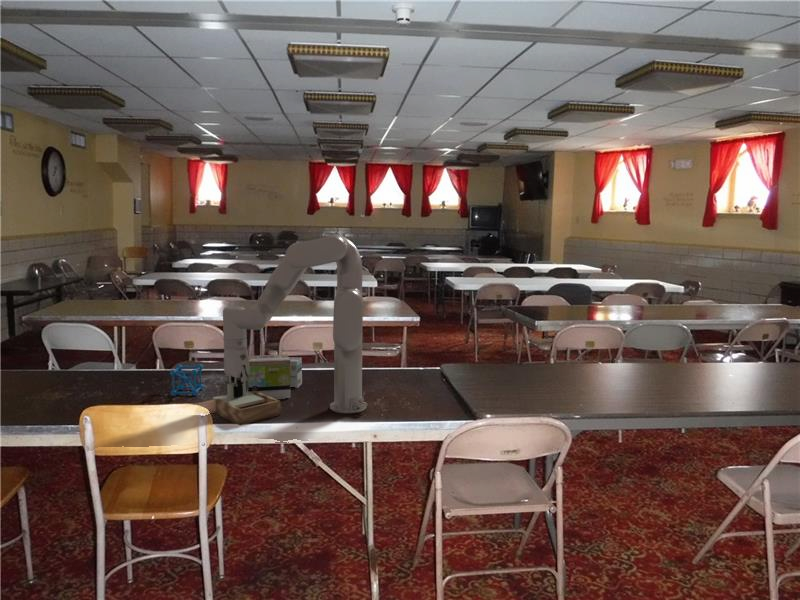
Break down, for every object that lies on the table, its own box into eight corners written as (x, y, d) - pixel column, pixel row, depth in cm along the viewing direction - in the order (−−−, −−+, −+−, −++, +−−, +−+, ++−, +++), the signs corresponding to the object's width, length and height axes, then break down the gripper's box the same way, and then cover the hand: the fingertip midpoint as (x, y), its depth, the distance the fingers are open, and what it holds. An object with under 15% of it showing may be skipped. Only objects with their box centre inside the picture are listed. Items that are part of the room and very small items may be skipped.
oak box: (280, 415, 204) (280, 400, 204) (239, 425, 194) (239, 410, 194) (255, 404, 216) (255, 390, 215) (215, 413, 206) (215, 399, 205)
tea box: (248, 402, 218) (247, 361, 216) (247, 394, 228) (246, 355, 226) (291, 399, 223) (290, 359, 221) (288, 391, 232) (287, 353, 230)
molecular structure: (204, 389, 234) (203, 363, 233) (197, 396, 224) (196, 370, 223) (177, 389, 233) (176, 363, 232) (169, 397, 224) (168, 370, 222)
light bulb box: (302, 383, 243) (302, 357, 241) (298, 388, 236) (297, 361, 235) (276, 382, 244) (275, 356, 242) (270, 387, 237) (270, 360, 236)
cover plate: (265, 401, 208) (264, 384, 208) (232, 409, 200) (231, 391, 199) (245, 393, 218) (245, 376, 217) (213, 400, 209) (212, 383, 208)
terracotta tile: (242, 406, 214) (242, 404, 213) (210, 413, 205) (210, 412, 205) (225, 398, 222) (225, 397, 222) (194, 405, 214) (194, 403, 214)
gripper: (257, 345, 204) (258, 399, 207) (233, 338, 215) (235, 389, 218) (236, 348, 199) (238, 403, 202) (213, 341, 210) (215, 393, 213)
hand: (236, 395), depth 210 cm, fingers closed on cover plate, 1 cm apart
